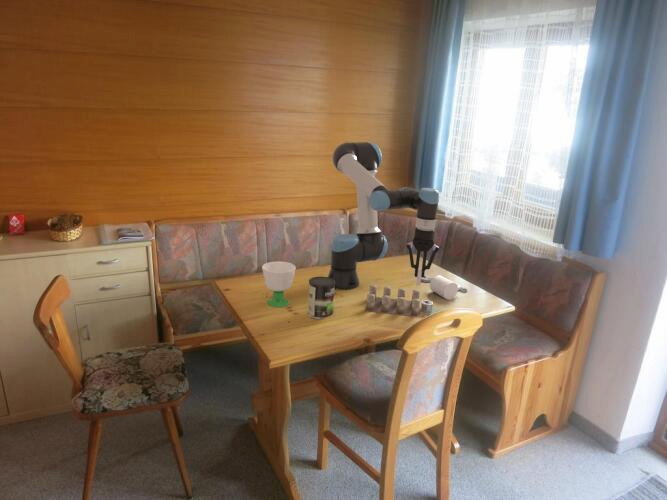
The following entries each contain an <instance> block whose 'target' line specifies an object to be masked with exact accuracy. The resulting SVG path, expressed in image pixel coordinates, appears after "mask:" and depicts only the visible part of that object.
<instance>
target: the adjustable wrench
mask: <svg viewBox="0 0 667 500" xmlns="http://www.w3.org/2000/svg"><path fill="white" fill-rule="evenodd" d="M433 278H434V277H431V276H430V275H427V274H424V278H422V277H421V282H423V283H430V282H431V280H432V279H433ZM458 291H459V292H461V293H468V288H466V287H465V288H464V287H461V286H460V289H459V290H458Z"/></svg>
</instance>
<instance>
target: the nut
mask: <svg viewBox="0 0 667 500" xmlns="http://www.w3.org/2000/svg"><path fill="white" fill-rule="evenodd" d="M433 304H434V303H433V301H432V300H428V299H423V300H421V303H420V312H424V313H426V314H427V313H429V312H432V308H434V307H433V306H434V305H433Z"/></svg>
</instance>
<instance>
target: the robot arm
mask: <svg viewBox="0 0 667 500" xmlns="http://www.w3.org/2000/svg"><path fill="white" fill-rule="evenodd" d="M382 162H383V154H382V151H381V148H380V147H379V146H378V145H377V144H376V143H374V142H368V141H364V142H363V141H361V142H343V143H341V144H339V145H338V146H337V147H336V148H335V149H334V150H333V154H332V163H333V165H334V168H335V169H336V170H337V171H338V172H339V173H340V174H343V175H346V176H347V177H348V179H350V180H351V181H352V183H354V184H355V185H356V186H355V187H356V200H357V213H358V215H357V216H358V217H357V218H358V230H357V231H356V232H355V233H356V234H354V233H341V234H338V235H336V236H334V238H333V239H332V240H331V241H332V242H331V246H330V247H331V256H330V257H331V258H330V259H331V260H330V270H329V273H327V277H329V278H332V279H334V280H335V291H336V290H341V291H342V290H353V289H356V288H358V287H359V286H360V280H359V275H358V273H357V263H363V262H364V263H365V262H370V261H371V262H374V261H377V260H381V259H383V258H384V257H385V255H386V253H387V251H388V247H389V245H388V241H387V238H386V236H385V235H384V234H382V230H381V229H380V228H379V226H378V212H379V211H381V212H384V211H385V212H386V211H391V210H402V209H403V210H405V209H412V210H415V211H416V219H415V228H414V236H413V239H412V241H411V242H407V243H406V248H407V249H408V253H409V254H408V255H409V260H410V267H411V268H412V269H414V278H416V283H415V285H416V286H418V287H420V286H421V282H422V281H421V277H422V278H424V275H425V272H426V270H430V268H431V266H432V264H433V262H434V259H435V257H436V254H437V252H438V251H439V250H440V247H439V245H436V244H435V241H434V238H435V229H436V222H437V213H438V207H439V202H440V201H439V198H440V192H439V190H437V189H435V188H431V187H421V188H420V189H419V190H417V189H414V188H412V187H405V186H404V187H402V188H400V189H392V190H390V189H389V188H387V187H386V186H385V185H384V184H383V183H382V182H381V181H380V180H379V179H378V178H376V177H375V176H376V174H377V173H378V168H380V167H381V165H382ZM377 211H378V212H377ZM413 246H414V247H413ZM413 248H415V250H416V257H415V258H416V260H415V261H414V254H413ZM431 248H432V252H431V254H430V257H429V259H428V261H427V255H428V252H429V250H431ZM421 252H423V254H422V263H421V267H419V266H420V258H421Z"/></svg>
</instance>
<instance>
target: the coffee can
mask: <svg viewBox="0 0 667 500" xmlns="http://www.w3.org/2000/svg"><path fill="white" fill-rule="evenodd" d="M335 291H336V290H335V280H334V279H332V278H329V277H328V276H313V277H310V278H309V280H308V301H307V302H308V306H307V315H308V316H309V317H310V318H312V319H316V320H324V318H328V317H330V316H332V315H334V311H335V310H334V308H335V305H334V304H335Z"/></svg>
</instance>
